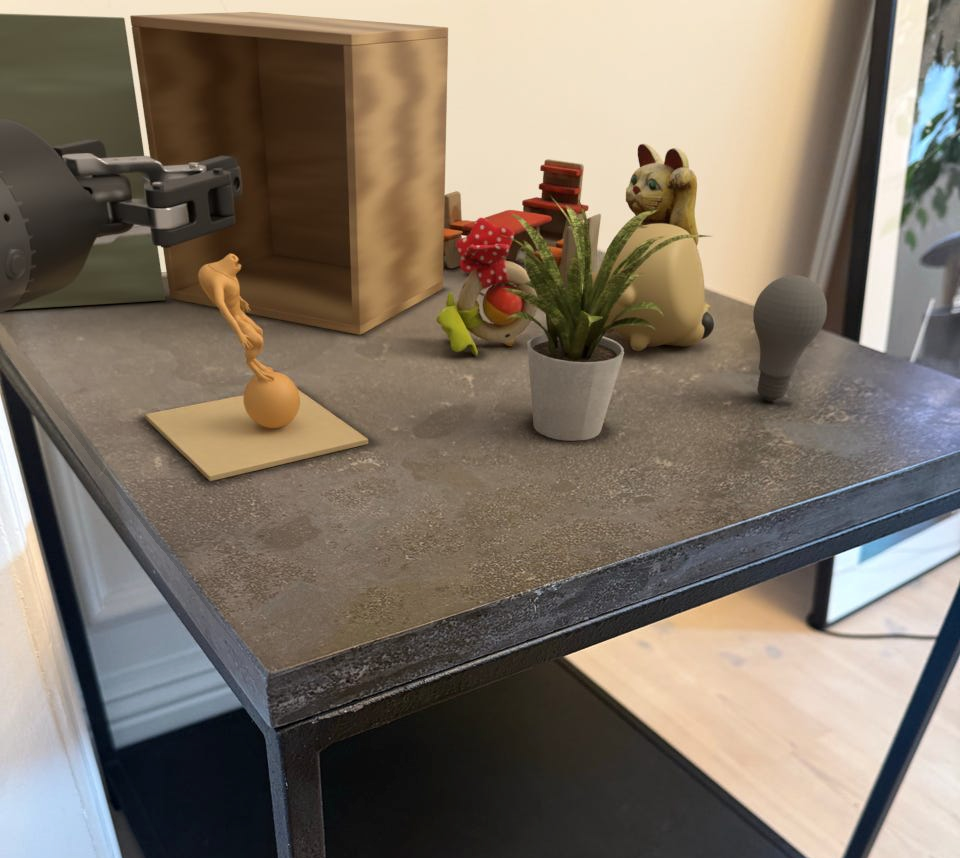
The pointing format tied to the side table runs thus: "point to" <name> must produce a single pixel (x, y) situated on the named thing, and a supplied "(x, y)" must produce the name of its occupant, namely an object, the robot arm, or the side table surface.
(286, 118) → the cupboard
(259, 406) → the figurine
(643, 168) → the decorative figurine
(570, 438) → the house plant
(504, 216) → the dollhouse furniture set
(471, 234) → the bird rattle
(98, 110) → the dark green flat panel
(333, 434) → the mat
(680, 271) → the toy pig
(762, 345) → the light bulb
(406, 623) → the side table surface
